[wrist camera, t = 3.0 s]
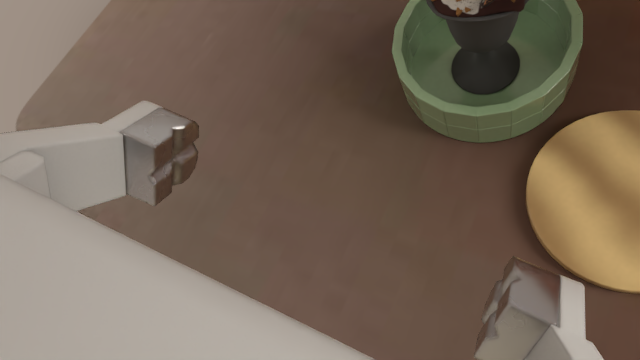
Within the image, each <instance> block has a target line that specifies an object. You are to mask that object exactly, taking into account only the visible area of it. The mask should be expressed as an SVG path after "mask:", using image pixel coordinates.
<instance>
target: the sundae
mask: <svg viewBox="0 0 640 360" xmlns="http://www.w3.org/2000/svg"><path fill="white" fill-rule="evenodd" d="M528 1H529V0H426V2H427V4H428V6H429V7H430V9H431V10H432V12H433V13H435V14H436V15H437V16H439V17H441V18H443V19H446V22H447V25H448V27H449V30H450V32H451V34H452V36H453V38H454V39H455V41H456V43H457V44H458V45H459V46H460V47H461V49H460V50H459V51H458V52H457V54H456V55H455V57H454V59H453V62H452V68H451V72H452V75H453V78H454V80H455V82H456V83H457V84H458V85H459V86H460V87H461V88H462V89H463V90H465V91H468V92H470V93H473V94H491V93H495V92H498V91H500V90H502V89H504V88H505V87H507V86H508V85H509V84H510V83H512V82H513V80H514V79H515V77H516V76H517V74H518V72H519V67H520V59H519V56H518V53H517V51H516V49H515V48H514V47H513V46H512V45H511V44H509V43H508V42H507V41H508V40H509V38H510V36H511V34H512V31H513V29H514V27H515V24H516V22H517V19H518V15H519V12H521V11H522V10H524V7H525V4H526V3H527V2H528Z"/></svg>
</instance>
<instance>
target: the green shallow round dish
mask: <svg viewBox="0 0 640 360" xmlns="http://www.w3.org/2000/svg"><path fill="white" fill-rule="evenodd" d="M507 42H508V43H509V44H511V45H512V46H513V47H514V48H515V49H516V51H517V53H518V56H519V59H520V67H519V72H518V74H517V76H516V77H515V79H514V80H513V82H512V83H510V84H509V85H508V86H507V87H505V88H504V89H502V90H500V91H498V92H495V93H491V94H473V93H470V92H468V91H465V90H463V89H462V88H461V87H460V86H459V85H458V84H457V83H456V82H455V80H454V78H453V75H452V72H451V68H452V62H453V59H454V57H455V55H456V54H457V52H458V51H459V50H460V49H461V47H460V46H459V45H458V44H457V43H456V41H455V39H454V38H453V36H452V34H451V32H450V30H449V27H448V25H447V22H446V19H443V18H441V17H439V16H437V15H436V14H435V13H433V12H432V10H431V9H430V7H429V6H428V4H427V2H426V0H410V1H409V2H408V3H407V5H406V7H405V9H404V11H403V13H402V15H401V16H400V18H399V20H398V22H397V24H396V26H395V31H394V38H393V46H392V55H393V58H394V62H395V65H396V69H397V72H398V76H399V78H400V81H401V84H402V87H403V90H404V93H405V96H406V99H407V101H408V104H409V105H410V106H411V108H412V109H413V110H414V112H415V113H416V115H417V116H418V117H419V118H420V119H421V120H422V121H423V122H424V123H425V124H426V125H428V126H429V127H430V128H432V129H433V130H435V131H437V132H438V133H441V134H443V135H445V136H447V137H450V138H453V139H456V140H461V141H466V142H478V143H482V142H495V141H502V140H506V139H509V138H513V137H516V136H518V135H521V134H523V133H526V132H528V131H529V130H531V129H533V128H535V127H537V126H538V125H539V124H541V123H542V122H544V121H545V120H546V119H547V118H548V117H549V116H551V115H552V114H553V113H554V112H555V111H556V109H557V108H558V107H559V106H560V105H561V103H562V102H563V101H564V99H565V97H566V95H567V93H568V91H569V88H570V86H571V83H572V81H573V79H574V77H575V73H576V69H577V65H578V61H579V56H580V52H581V48H582V44H583V15H582V12H581V10H580V8H579V6H578V4H577V2H576V0H529V1H528V2H527V3H526V4H525V7H524V10H522V11H521V12H519V15H518V19H517V22H516V24H515V27H514V29H513V31H512V34H511V36H510V38H509V40H508V41H507Z"/></svg>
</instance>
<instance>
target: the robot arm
mask: <svg viewBox="0 0 640 360" xmlns="http://www.w3.org/2000/svg"><path fill="white" fill-rule="evenodd" d="M198 137H199V126H198V124H197V123H196V122H195V121H193V120H190V119H188V118H186V117H184V116H182V115H179V114H177V113H175V112H173V111H170V110H168V109H166V108H163V107H161V106H159V105H156V104H154V103H152V102H150V101H141V102H139V103H138V104H136V105H134V106H132V107H131V108H129V109H127V110H125V111H124V112H122V113H120V114H118V115H117V116H115V117H113V118H111V119H110V120H108V121H106V122H104V123H103V124H98V123H96V122H95V123H86V124H77V125H68V126H59V127H50V128H42V129H33V130H24V131H15V132H6V133H0V360H376V359H373V358H371V357H369V356H367V355H365V354H363V353H361V352H359V351H357V350H355V349H353V348H351V347H349V346H347V345H345V344H343V343H341V342H339V341H337V340H335V339H333V338H331V337H329V336H327V335H325V334H323V333H321V332H319V331H317V330H315V329H313V328H311V327H309V326H307V325H305V324H303V323H301V322H299V321H297V320H295V319H293V318H291V317H289V316H287V315H285V314H283V313H281V312H279V311H277V310H275V309H273V308H271V307H269V306H267V305H265V304H263V303H260V302H258V301H256V300H254V299H252V298H250V297H248V296H246V295H244V294H242V293H240V292H238V291H236V290H234V289H232V288H230V287H228V286H226V285H224V284H222V283H220V282H218V281H216V280H214V279H212V278H210V277H208V276H206V275H204V274H202V273H200V272H198V271H196V270H194V269H192V268H189V267H187V266H185V265H183V264H181V263H179V262H177V261H175V260H173V259H171V258H169V257H167V256H165V255H163V254H161V253H159V252H157V251H155V250H153V249H151V248H149V247H147V246H145V245H143V244H141V243H139V242H137V241H135V240H133V239H131V238H129V237H127V236H125V235H123V234H121V233H119V232H117V231H115V230H113V229H111V228H109V227H106V226H104V225H102V224H100V223H98V222H96V221H94V220H92V219H90V218H88V217H86V216H84V215H82V214H80V213H78V212H76V211H79V210H82V209H85V208H88V207H91V206H95V205H98V204H101V203H104V202H107V201H111V200H114V199H117V198H120V197H123V196H126V194H128V195H130V196H132V197H134V198H137V199H139V200H141V201H144V202H146V203H148V204H150V205H153V206H156V205H157V204H158V203H160V202H161V201H162V200H163V199H164V198H166V197H167V196H168V195H169V194H170V193H172V185H177V184H182V183H183V182H184V181H186V180H187V179H188V178H189V177H190V175H191V174H192V172H193V170H194V169H195V166H196V163H197V159H198V151H197V149H196V147H195V145H194V143H193V142H194V141H195V140H196V139H197V138H198ZM482 321H483V323H484V326H483V327H482V329H481V331H480V332H479V334H478V338H477V343H476V348H475V353H474V357H475V358H476V359H478V360H604V359H603V357H602V356H601V355H600V353H599V352H598V350H597V349H596V347H595V346H594V344H593V343H592V342H590V341H588V340H586V336H585V287H584V286H583V284H582V283H580V282H577V281H575V280H572V279H570V278H567V277H565V276H562V275H557V274H555V273H553V272H550V271H548V270H545V269H543V268H541V267H538V266H536V265H533V264H531V263H529V262H526V261H524V260H521V259H519V258H517V257H514V256H513V257H512V258H511V259H510V260H509V262H508V263H507V265H506V267H505V269H504V274H503V279H502V280H500V281H497V282H496V283H495V285H494V287H493V289H492V290H491V292H490V295H489V297H488V299H487V301H486V304H485V307H484V310H483V315H482Z"/></svg>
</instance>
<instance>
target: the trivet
mask: <svg viewBox="0 0 640 360" xmlns="http://www.w3.org/2000/svg"><path fill="white" fill-rule="evenodd" d="M526 208H527V213H528V217H529V220H530V223H531V226H532V228H533V230H534V232H535V234H536V236H537V238H538V240H539V241H540V243H541V244H542V246H543V247H544V248H545V250H546V251H547V252H548V253H549V254H550V255H551V256H552V258H553V259H555V260H556V261H557V262H558V263H559V264H560V265H561V266H562V267H564V268H565V269H567V270H568V271H570V272H571V273H572V274H574V275H576V276H577V277H579V278H581V279H583V280H585V281H587V282H589V283H592V284H594V285H597V286H599V287H602V288H606V289H609V290H613V291H618V292H624V293H635V294H640V111H634V110H620V111H609V112H603V113H598V114H595V115H591V116H587V117H585V118H582V119H580V120H577V121H575V122H573V123H572V124H570V125H568V126H566V127H564V128H563V129H562V130H560V131H559V132H557V133H556V134H555V135H554V136H553V137H552V138H551V139H549V140H548V141H547V142H546V144H545V145H544V146H543V147H542V148H541V150H540V151H539V153H538V154H537V156H536V158H535V159H534V161H533V164H532V166H531V168H530V171H529V175H528V179H527V186H526Z"/></svg>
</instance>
